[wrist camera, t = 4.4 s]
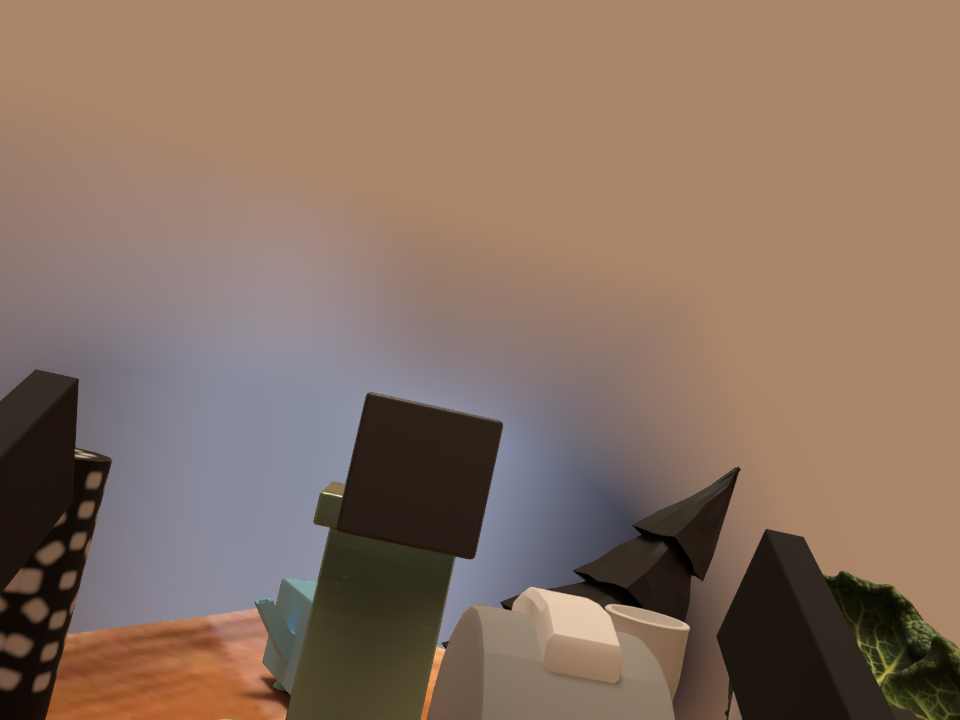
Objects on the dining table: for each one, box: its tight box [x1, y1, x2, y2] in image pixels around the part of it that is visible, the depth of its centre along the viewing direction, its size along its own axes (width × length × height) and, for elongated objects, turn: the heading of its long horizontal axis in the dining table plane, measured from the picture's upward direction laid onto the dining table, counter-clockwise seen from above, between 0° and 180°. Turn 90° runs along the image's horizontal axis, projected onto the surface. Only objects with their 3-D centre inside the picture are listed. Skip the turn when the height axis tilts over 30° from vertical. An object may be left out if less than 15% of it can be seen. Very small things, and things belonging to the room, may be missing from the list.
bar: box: [336, 392, 503, 559], centre depth 29 cm, size 22×3×3 cm, turn 6°
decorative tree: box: [442, 467, 741, 648], centre depth 78 cm, size 15×15×35 cm
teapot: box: [255, 578, 317, 695], centre depth 83 cm, size 16×18×11 cm
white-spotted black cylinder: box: [0, 448, 112, 720], centre depth 58 cm, size 8×8×20 cm
